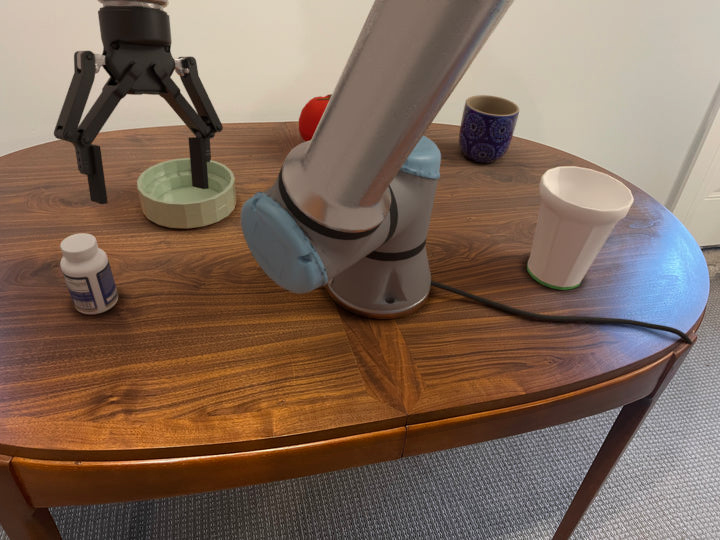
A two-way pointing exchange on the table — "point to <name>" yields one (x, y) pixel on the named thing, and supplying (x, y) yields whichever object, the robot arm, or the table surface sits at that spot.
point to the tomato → (312, 116)
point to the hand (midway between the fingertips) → (153, 194)
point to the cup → (574, 223)
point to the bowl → (186, 194)
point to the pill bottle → (88, 274)
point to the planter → (487, 127)
